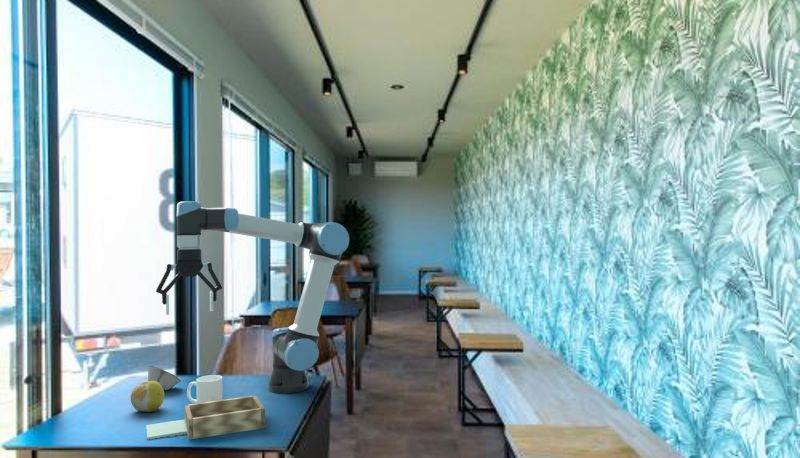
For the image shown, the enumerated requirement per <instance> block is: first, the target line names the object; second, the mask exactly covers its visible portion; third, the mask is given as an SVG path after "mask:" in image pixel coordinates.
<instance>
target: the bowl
mask: <svg viewBox="0 0 800 458" xmlns="http://www.w3.org/2000/svg"><path fill="white" fill-rule="evenodd" d="M147 381H156V382H158V383H160V385H161V386H162V388H163V390H165V391H169V390H170V389H172V388H173V387H175V386H176V385H178V384H180V383H181V380H180V379H179V377H177V376H176V375H175V374H173V373H171V372H170V371H167V370H164V369H163V368H159V367H156V366H153V365H149V366H147Z"/></svg>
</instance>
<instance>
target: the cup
mask: <svg viewBox="0 0 800 458" xmlns="http://www.w3.org/2000/svg"><path fill="white" fill-rule="evenodd" d="M195 380H196V381H191V382H190V383H188V385H187V390H186V396H187V397H186V398H187V399H188V401H189V402H190V403H191V404H196V403H203V402H210V401H217V400H224V399H223V398H224V397H223V394H224V393H223V392H224V390H223V388H224V387H223V376H222V375H219V374H210V375H203V376H202V375H201V376H200V377H197V378H196V379H195ZM192 386H195V387H196V388H195V389H196V399H195V398H192V396H191V390H192Z"/></svg>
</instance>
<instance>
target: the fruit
mask: <svg viewBox="0 0 800 458" xmlns="http://www.w3.org/2000/svg"><path fill="white" fill-rule="evenodd" d="M164 399H165V391H164V389H163V388H162V386H161V385H160V383H158V382H156V381H148V380H146V381H144V382H140V383H139V384H138V385H136V386H135V387H134V388H133V389H132V390H131V393H130V403H131V405H132V408H134V410H136V411H138V412H147V413H152V412H155V411H157V410H159V409H160V408H161V406H162V404H163V403H164Z"/></svg>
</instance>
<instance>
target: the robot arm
mask: <svg viewBox="0 0 800 458" xmlns="http://www.w3.org/2000/svg"><path fill="white" fill-rule="evenodd" d="M202 231H214V232H215V231H217V232H223V233H230V234H235V235H242V236H246V237H252V238H259V239H266V240H273V241H276V242H277V241H278V242H283V243H289V244H294V245H295V247H297V248H303V249H305V250H309V252H308V256H309V258H310V260H311V261H310V264H309V267H308V271H307V274H306V278H305V280H304V281H305V282H304V285H303V288H302V293H301V295H300V300H299V304H298V306H297V310H296V314H295V318H294V321H293V324H291V325H289V326H288V327H280V328H275V329H273V330H272V333H271V334H272V335H271V339H272V340H271V342H272V344H271V345H272V347H271V348H272V351H271V352H272V370H271V373H270V376H269V379H268V383H267V389H268V391H269V392H271V393H274V394H294V393H299V392H303V391H305V390H308V388H309V385H310V384H309V379H308V375H307V373H306V370H308V369H310V368H312V367H313V366H314V365H315V364H316V363H317V361H318V358H319V354H320V352H319V351H320V350H319V347H318V343H319V338H320V334H319V332H318V326H319V322H320V319H321V315H322V312H323V308H324V304H325V301H326V297H327V294H328V289H329V285H330V282H331V278H332V275H333V272H334V269H335V268H334V267H335V265H338V264H339V263H340V261H341V257H342V255H343V253H344V252H346V250H347V249H348V247H349V244H350V234H349V233H348V230H347V228H345V226H343V225H342V224H340V223H338V222H334V221H333V222H332V221H329V222H328V221H327V222H303V221H300V222H299V223H293V222H290V221H289V222H288V221H284V220H283V221H282V220H277V219H271V218H266V217H261V216H255V215H249V214H243V213H239V212H238V210H237V208H235V207H234V208H232V207H209V208H208V207H202V204H201V202H200V201H180V202H178V203H177V204H176V247H177V248H178V249H177V250H176V264H175V263H174V264H172V263H167V264H166V270H165V272H164V274H163V276H162V277H161V280H160V282H159V283H158V284H157V287H156V289H155V292H156V293H157V294H161V299H162V301H161V302H162V304H163V305H165V315H166V316H169V315H170V294H169V291H170V290H171V289H172V288H173V286H174V285H175V284H176V283H177V282H178V281H179V279H181V277H185V278H188V277H195V278H196V276H198V278H200V279H201V280H202V281H203V283H205V284H206V285H207V287H208V288H210V291H209V311H210V313H211V312H214V302H217V292H218V291H220V290H223V286H222V284H221V283H220V281H219V279H218V277H217V275H216V273H215V271H214V270H213V265H212V262H205V263H203V262H202V249H201V248H202ZM203 268H205V270H207V271H208V273H209V275H210V276H211V278H212V280H213V282H214V284H215V286H214V284H212V282H210V280H208V278H207V277H206V276H205V275H204V274H203V273H202V272H201V270H202V269H203ZM174 269H176V271H178V272H177V274H176V275H175V276H174V277H173V278H172V280H171V281H169V283H168V284H167V285H166V286H165V287H164V285H165V284H166V281H167V280H168V277H169V276H170V273H171V271H174Z"/></svg>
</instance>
